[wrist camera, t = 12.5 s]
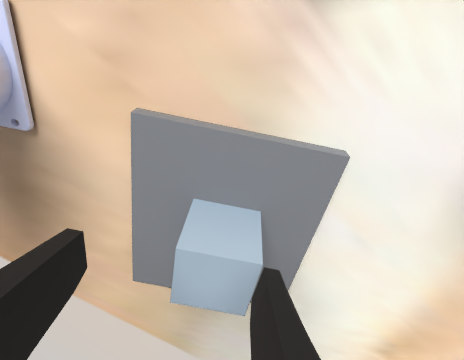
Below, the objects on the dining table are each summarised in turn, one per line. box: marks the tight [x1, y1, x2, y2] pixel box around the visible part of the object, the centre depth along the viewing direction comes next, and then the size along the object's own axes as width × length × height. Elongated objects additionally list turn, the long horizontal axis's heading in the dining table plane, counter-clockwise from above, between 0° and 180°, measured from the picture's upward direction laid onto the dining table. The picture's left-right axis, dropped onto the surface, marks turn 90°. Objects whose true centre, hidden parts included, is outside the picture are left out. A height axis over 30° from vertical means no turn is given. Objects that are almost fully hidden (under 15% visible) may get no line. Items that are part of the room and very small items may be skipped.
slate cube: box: [170, 199, 263, 316], centre depth 18 cm, size 5×5×5 cm
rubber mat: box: [131, 108, 350, 303], centre depth 21 cm, size 14×16×1 cm
